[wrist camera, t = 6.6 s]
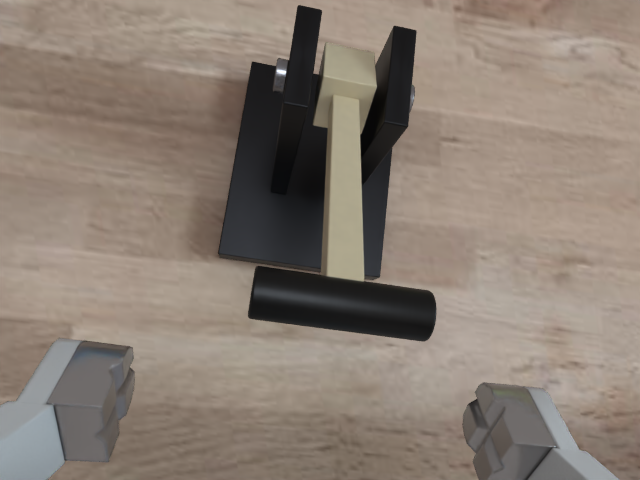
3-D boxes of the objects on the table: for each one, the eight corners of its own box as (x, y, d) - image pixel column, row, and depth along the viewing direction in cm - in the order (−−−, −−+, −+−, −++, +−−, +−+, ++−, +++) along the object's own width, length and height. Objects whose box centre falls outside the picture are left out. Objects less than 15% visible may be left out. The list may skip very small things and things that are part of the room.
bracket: (373, 280, 30) (462, 242, 17) (219, 257, 28) (194, 199, 16) (391, 101, 32) (478, -43, 20) (251, 73, 31) (252, -98, 19)
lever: (415, 357, 13) (447, 317, 11) (244, 336, 13) (251, 289, 11) (388, 104, 22) (405, 58, 20) (286, 84, 21) (293, 34, 19)
